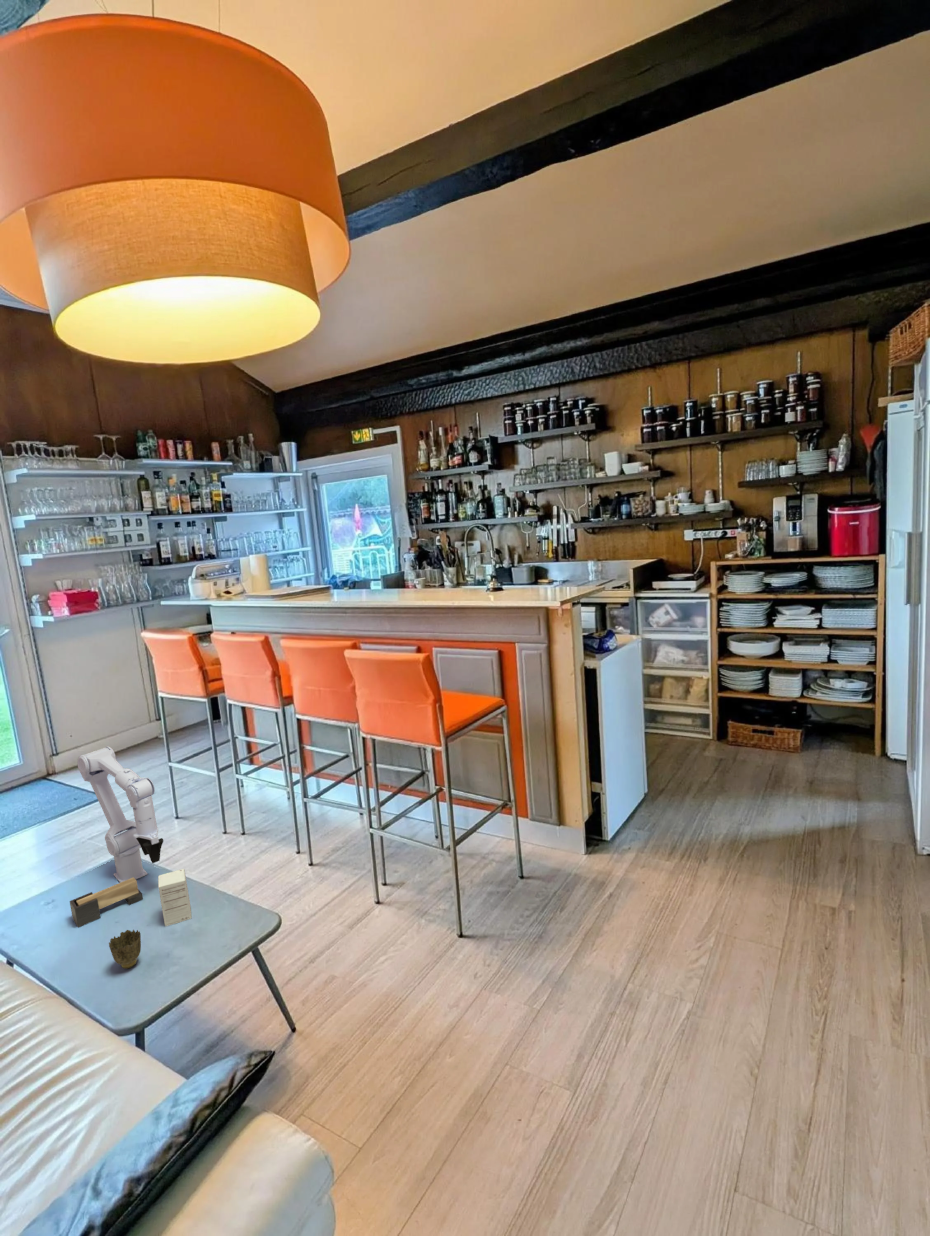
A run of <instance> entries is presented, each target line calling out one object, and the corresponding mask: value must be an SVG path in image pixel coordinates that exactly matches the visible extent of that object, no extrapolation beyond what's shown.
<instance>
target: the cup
mask: <svg viewBox="0 0 930 1236" xmlns="http://www.w3.org/2000/svg"><path fill="white" fill-rule="evenodd" d="M141 938H142V937H141V932H140V931H139V930H138V929H137V930H136V931H135V929H132V930H129V929H126V930H125V931H121V932H120V933H119V936H117V937H116V936H115V935H114V936H113V937H111V938H110V941H109V942H108V947H109V950H110V952H111V953H110V954H111V956H112V958H113V960H114V961H115V963H117V964H118V965H120V967H121V968H122V969H124V970H128V969H132V968H133V967H134V966H136V964H137V959H138V957H139V956H140V954H141V952H142V951H141V948H142V942H141V941H142V940H141Z"/></svg>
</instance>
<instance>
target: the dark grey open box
mask: <svg viewBox="0 0 930 1236" xmlns="http://www.w3.org/2000/svg"><path fill="white" fill-rule="evenodd" d="M92 894H94V893H93V891H91V892H88V893H86V894H84V895H82V896H81V895H80V896H79V897H75V898H74V899H71V900H69V906H70V911H71V917H72V920H73V922H74V923H75V925H76V927H77V928H81V927H84V926H85V925H88V924H90V923H92V922H94V921H97V920H99V919H101V910H100V909H99V905H98V900H97V899H94V900H92V901H90V902H87V903H85V904H82V905H80V906H78V907H77V903H76V901H77V900H80V899H82V898H84V897H87V896H89V895H92Z"/></svg>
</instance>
